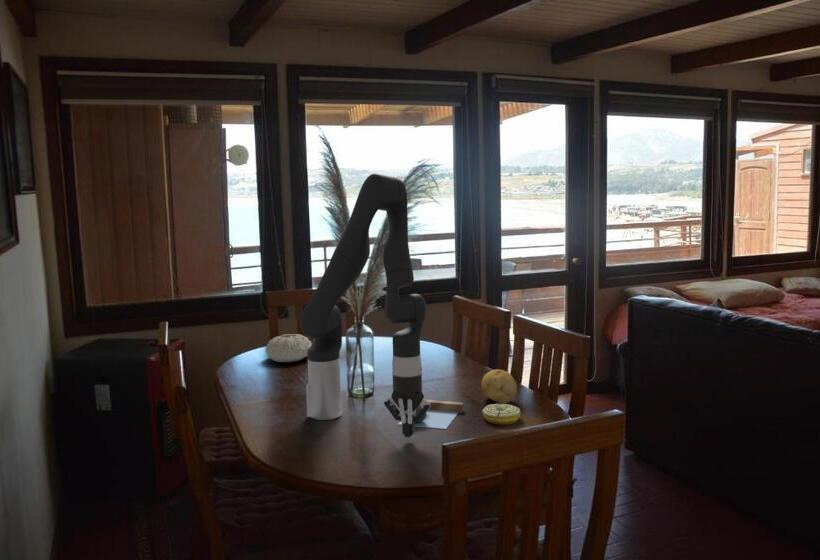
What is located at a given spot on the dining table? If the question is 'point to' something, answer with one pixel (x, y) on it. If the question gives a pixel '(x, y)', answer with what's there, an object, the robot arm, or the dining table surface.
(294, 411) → the dining table surface
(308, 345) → the decorative shell
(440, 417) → the light blue square plate
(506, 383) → the potato
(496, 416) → the decorated donut
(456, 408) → the oak rail
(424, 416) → the dark gray ball
